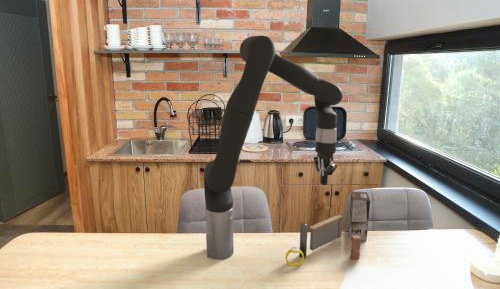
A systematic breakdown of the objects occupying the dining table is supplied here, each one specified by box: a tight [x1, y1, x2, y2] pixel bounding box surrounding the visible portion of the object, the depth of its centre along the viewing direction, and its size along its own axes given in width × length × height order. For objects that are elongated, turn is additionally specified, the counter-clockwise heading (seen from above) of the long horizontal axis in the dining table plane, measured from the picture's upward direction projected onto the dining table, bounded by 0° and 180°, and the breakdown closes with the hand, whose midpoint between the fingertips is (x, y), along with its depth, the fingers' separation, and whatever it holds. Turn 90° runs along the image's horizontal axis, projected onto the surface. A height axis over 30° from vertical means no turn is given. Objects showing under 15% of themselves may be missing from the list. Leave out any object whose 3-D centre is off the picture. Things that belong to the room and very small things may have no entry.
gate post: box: [298, 222, 309, 259], centre depth 118 cm, size 2×2×12 cm
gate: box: [308, 214, 344, 252], centre depth 124 cm, size 16×2×8 cm, turn 129°
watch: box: [285, 246, 305, 267], centre depth 113 cm, size 6×3×6 cm, turn 90°
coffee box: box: [347, 191, 371, 241], centre depth 132 cm, size 9×6×16 cm
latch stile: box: [349, 235, 362, 261], centre depth 117 cm, size 2×2×8 cm
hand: (323, 184), depth 130 cm, fingers closed
